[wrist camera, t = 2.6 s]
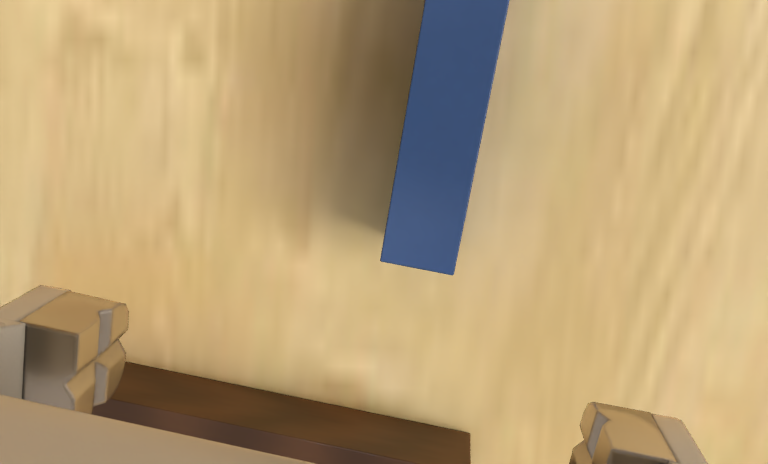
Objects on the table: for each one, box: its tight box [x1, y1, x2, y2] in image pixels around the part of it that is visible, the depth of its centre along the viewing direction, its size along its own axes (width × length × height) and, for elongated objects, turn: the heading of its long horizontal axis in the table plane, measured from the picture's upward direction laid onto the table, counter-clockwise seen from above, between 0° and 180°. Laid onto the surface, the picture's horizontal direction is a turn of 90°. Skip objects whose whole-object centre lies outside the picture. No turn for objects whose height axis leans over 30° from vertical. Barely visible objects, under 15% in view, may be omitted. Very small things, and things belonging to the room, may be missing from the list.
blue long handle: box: [380, 0, 509, 275], centre depth 28 cm, size 19×5×4 cm, turn 171°
